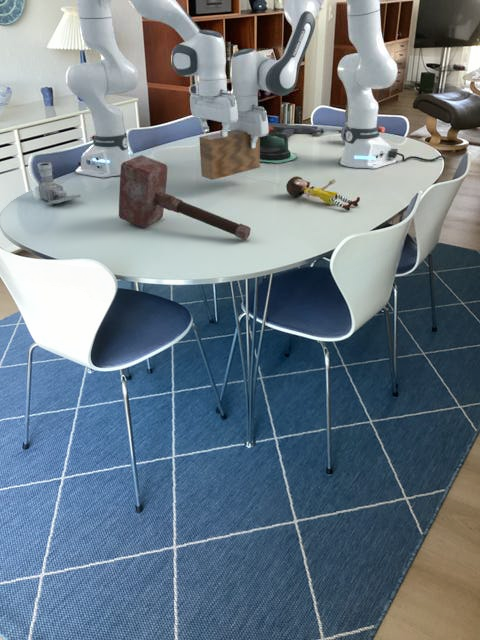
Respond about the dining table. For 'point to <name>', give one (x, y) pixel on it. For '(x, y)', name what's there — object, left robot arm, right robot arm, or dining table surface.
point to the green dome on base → (275, 148)
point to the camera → (51, 186)
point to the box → (228, 154)
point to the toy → (343, 132)
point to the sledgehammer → (160, 198)
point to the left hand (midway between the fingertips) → (214, 134)
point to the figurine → (317, 192)
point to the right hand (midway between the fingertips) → (245, 146)
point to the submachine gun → (293, 129)
